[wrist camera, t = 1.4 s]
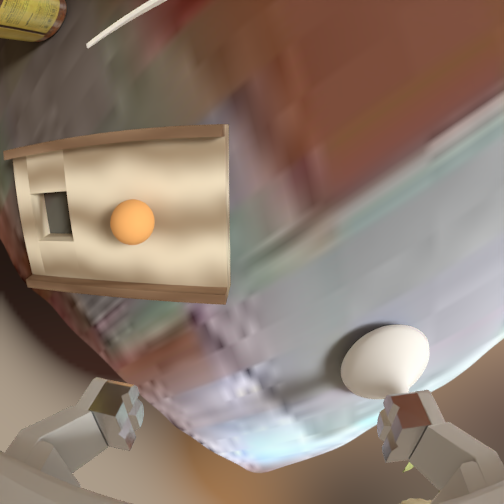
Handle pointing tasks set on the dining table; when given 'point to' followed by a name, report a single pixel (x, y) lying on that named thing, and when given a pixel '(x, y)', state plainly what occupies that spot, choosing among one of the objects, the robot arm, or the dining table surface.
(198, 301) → the beige tray
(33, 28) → the sauce bottle
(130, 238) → the ball
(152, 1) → the fork
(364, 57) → the dining table surface
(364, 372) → the flower in vase
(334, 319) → the dining table surface
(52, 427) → the robot arm
